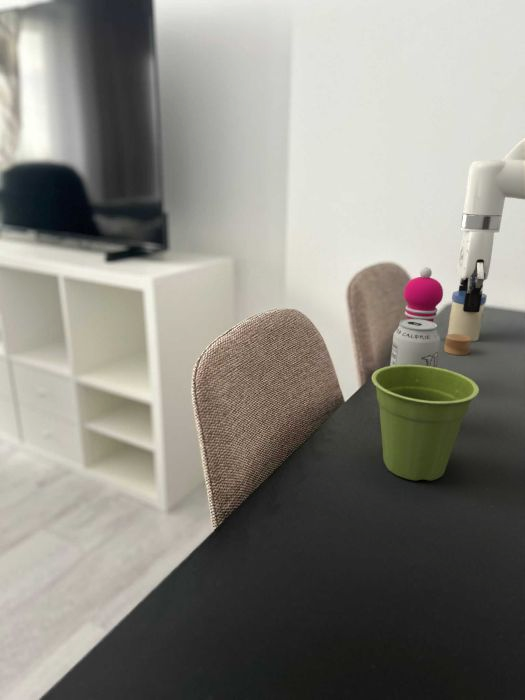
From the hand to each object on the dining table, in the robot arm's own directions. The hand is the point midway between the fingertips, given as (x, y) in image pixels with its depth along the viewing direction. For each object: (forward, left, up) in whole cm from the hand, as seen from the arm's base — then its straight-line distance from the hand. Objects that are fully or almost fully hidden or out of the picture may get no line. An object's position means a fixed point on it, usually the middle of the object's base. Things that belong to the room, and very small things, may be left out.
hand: (467, 306), depth 112 cm
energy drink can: (+24, +43, -7) cm, 50 cm away
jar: (0, 0, -7) cm, 7 cm away
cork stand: (+5, +10, -7) cm, 13 cm away
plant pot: (+26, +54, -7) cm, 60 cm away
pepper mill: (+19, +28, -7) cm, 35 cm away
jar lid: (0, 0, +2) cm, 2 cm away
